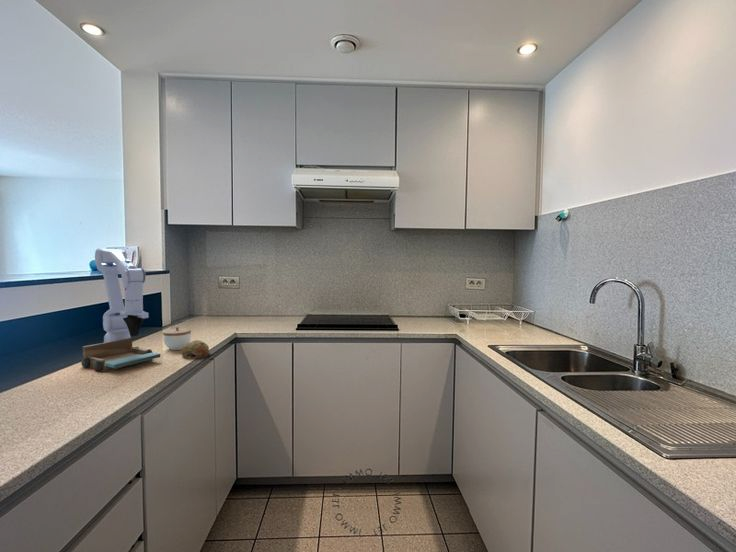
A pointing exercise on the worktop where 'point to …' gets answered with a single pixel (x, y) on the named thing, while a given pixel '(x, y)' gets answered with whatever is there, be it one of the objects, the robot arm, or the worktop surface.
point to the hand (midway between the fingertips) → (134, 335)
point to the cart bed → (110, 354)
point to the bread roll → (195, 350)
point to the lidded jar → (176, 338)
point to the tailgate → (132, 360)
